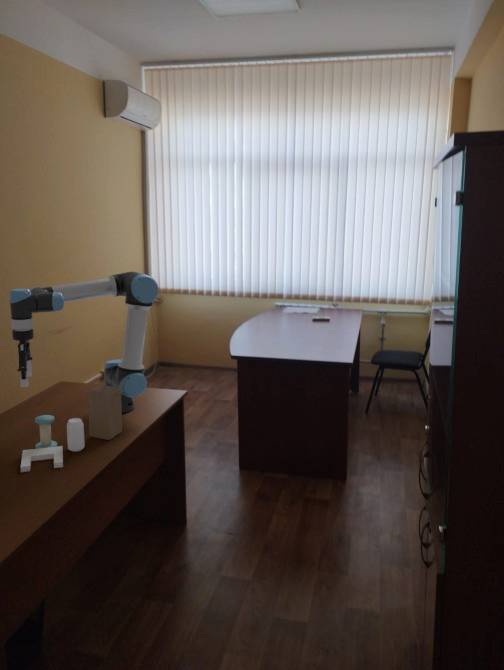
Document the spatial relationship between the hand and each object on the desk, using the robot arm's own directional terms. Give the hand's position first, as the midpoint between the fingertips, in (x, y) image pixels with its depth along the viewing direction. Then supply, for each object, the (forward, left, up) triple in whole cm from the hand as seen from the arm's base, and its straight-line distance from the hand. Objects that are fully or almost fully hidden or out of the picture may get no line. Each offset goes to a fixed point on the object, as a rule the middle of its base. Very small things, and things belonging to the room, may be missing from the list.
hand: (26, 381), depth 212 cm
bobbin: (-6, +12, -24) cm, 27 cm away
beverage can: (-17, +16, -24) cm, 34 cm away
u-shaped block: (-5, +23, -24) cm, 34 cm away
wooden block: (-29, +6, -24) cm, 38 cm away
